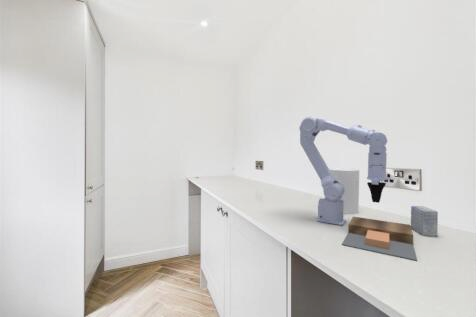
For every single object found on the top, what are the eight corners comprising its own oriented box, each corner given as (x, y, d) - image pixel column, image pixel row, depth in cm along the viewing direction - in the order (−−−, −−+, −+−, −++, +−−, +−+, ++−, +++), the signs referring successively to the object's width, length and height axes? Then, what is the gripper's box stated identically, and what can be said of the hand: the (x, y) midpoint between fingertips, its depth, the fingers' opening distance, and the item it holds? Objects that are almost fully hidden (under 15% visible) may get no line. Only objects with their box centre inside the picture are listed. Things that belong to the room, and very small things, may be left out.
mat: (341, 245, 69) (341, 244, 69) (347, 233, 79) (347, 232, 79) (417, 261, 59) (417, 259, 59) (413, 245, 69) (413, 244, 69)
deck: (348, 232, 80) (348, 224, 80) (352, 224, 90) (353, 216, 90) (412, 244, 70) (413, 234, 70) (410, 233, 80) (410, 224, 80)
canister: (359, 209, 114) (360, 169, 113) (357, 215, 102) (358, 171, 102) (330, 206, 121) (330, 168, 120) (325, 211, 109) (326, 169, 108)
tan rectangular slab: (365, 244, 69) (365, 238, 69) (367, 235, 76) (367, 229, 76) (389, 249, 66) (389, 242, 66) (389, 239, 73) (389, 233, 73)
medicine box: (437, 237, 77) (438, 211, 77) (422, 236, 78) (423, 210, 78) (423, 229, 85) (424, 206, 84) (410, 228, 85) (410, 205, 85)
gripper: (389, 166, 76) (388, 207, 76) (390, 165, 88) (389, 200, 88) (365, 165, 80) (364, 204, 80) (369, 164, 92) (368, 197, 92)
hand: (375, 202), depth 85 cm, fingers closed
